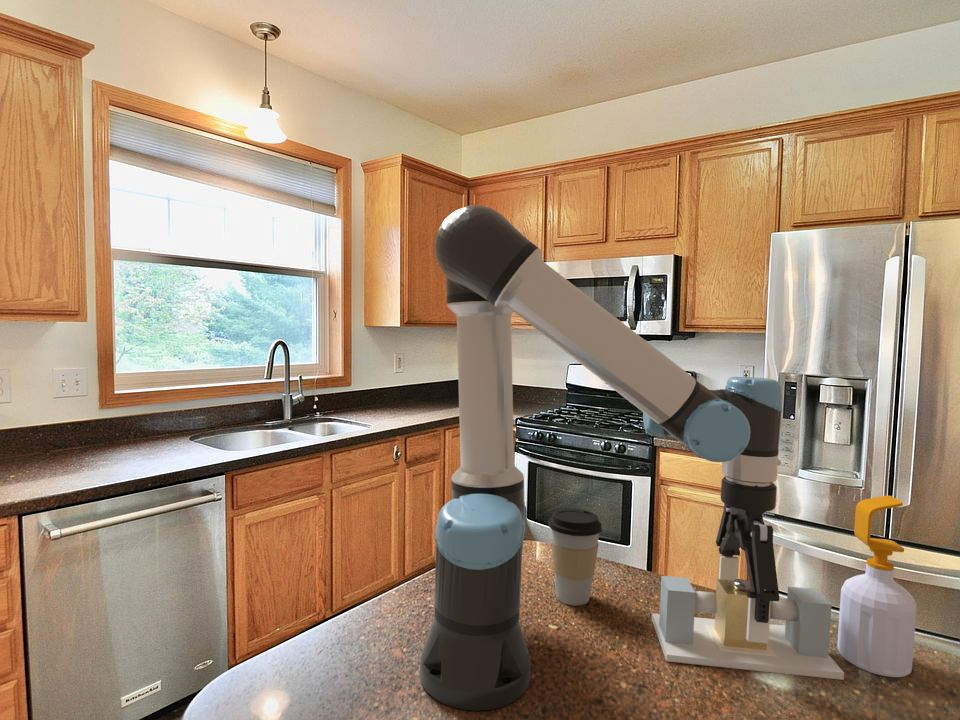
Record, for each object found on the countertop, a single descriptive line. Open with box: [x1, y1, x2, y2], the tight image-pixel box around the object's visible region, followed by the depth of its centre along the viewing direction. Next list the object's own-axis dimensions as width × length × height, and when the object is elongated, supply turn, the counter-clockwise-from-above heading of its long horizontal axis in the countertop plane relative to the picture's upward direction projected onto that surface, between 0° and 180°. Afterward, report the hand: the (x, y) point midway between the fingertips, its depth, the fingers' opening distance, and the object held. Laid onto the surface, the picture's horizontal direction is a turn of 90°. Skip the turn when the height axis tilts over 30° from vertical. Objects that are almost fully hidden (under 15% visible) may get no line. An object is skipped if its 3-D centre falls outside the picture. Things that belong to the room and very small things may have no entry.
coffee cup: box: [547, 507, 603, 607], centre depth 99 cm, size 9×9×15 cm
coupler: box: [714, 578, 767, 650], centre depth 85 cm, size 5×6×9 cm
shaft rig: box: [651, 575, 845, 681], centre depth 85 cm, size 24×12×9 cm, turn 82°
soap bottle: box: [836, 495, 918, 678], centre depth 82 cm, size 9×9×25 cm
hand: (741, 616), depth 85 cm, fingers open, 13 cm apart
